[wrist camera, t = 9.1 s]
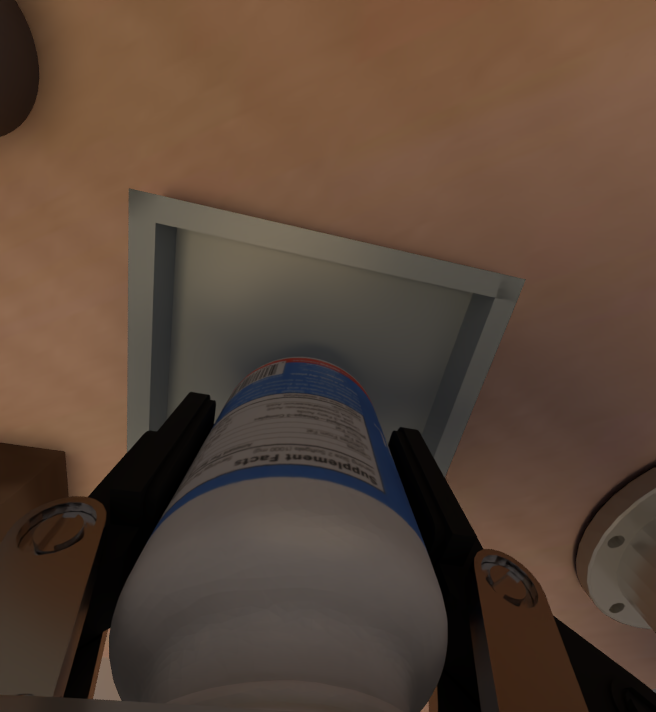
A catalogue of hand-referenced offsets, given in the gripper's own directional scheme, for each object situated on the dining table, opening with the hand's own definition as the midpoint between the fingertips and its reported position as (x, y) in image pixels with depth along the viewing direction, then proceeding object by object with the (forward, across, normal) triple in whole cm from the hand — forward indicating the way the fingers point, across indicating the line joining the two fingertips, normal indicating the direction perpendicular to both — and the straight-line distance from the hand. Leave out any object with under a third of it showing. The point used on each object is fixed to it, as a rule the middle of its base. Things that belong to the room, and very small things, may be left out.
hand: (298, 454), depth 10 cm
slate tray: (+5, 0, 0) cm, 5 cm away
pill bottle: (+2, 0, 0) cm, 2 cm away
